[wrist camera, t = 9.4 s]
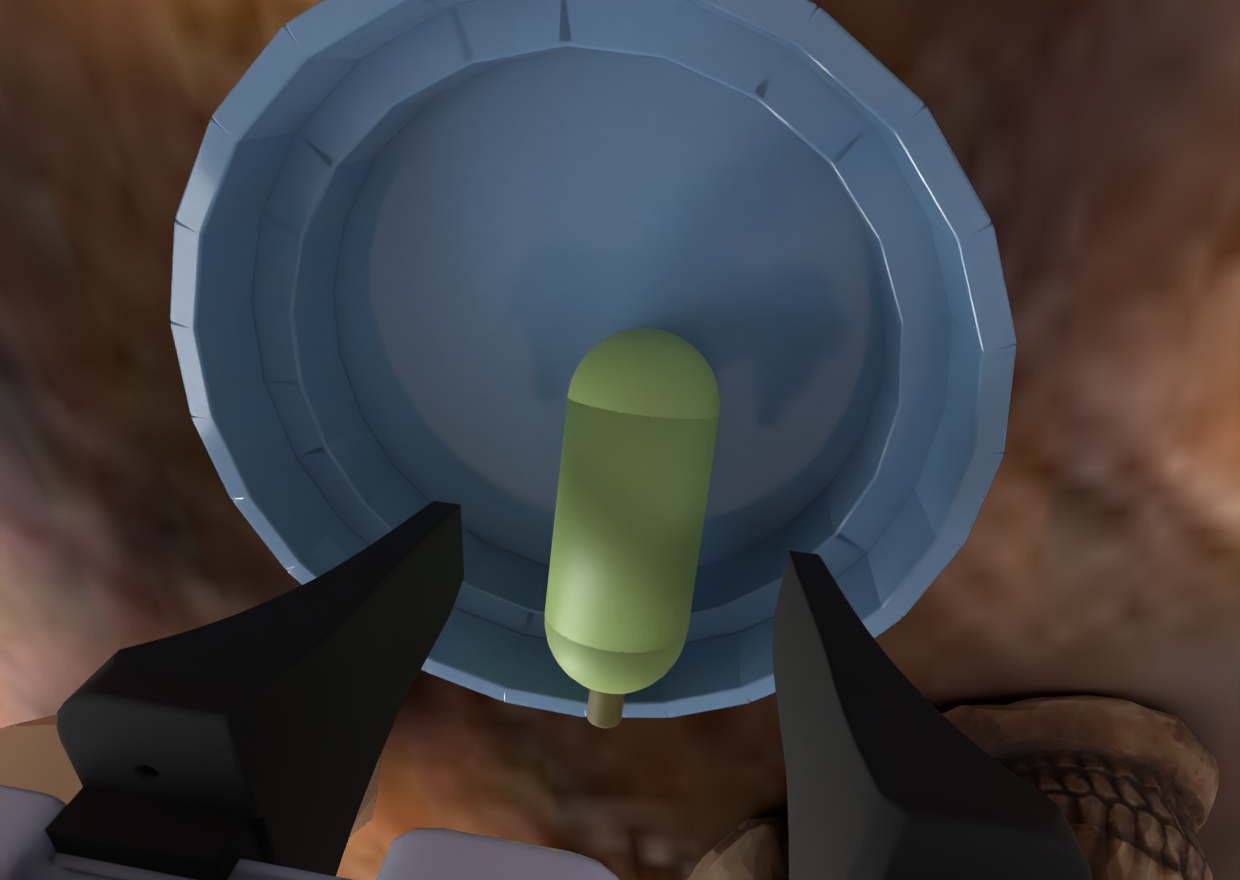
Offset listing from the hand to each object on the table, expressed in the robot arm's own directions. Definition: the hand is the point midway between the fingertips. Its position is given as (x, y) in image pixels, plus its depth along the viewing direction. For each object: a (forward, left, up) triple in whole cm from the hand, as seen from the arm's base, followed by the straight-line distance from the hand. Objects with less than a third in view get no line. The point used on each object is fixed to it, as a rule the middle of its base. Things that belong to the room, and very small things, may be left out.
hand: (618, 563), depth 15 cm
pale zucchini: (0, +1, -4) cm, 4 cm away
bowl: (0, -3, -5) cm, 6 cm away
